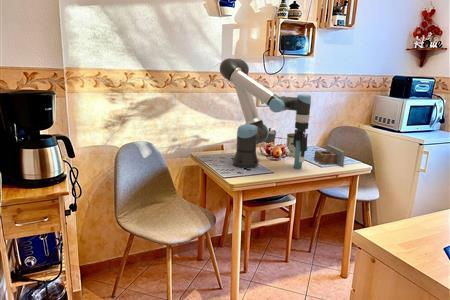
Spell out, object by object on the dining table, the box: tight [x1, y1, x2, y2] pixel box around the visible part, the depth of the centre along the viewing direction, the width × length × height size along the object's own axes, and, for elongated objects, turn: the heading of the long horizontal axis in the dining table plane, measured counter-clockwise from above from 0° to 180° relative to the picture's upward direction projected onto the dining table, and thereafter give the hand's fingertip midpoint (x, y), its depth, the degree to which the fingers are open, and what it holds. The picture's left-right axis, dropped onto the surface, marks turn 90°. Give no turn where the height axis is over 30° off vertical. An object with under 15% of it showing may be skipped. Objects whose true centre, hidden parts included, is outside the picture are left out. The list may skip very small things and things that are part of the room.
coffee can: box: [286, 132, 295, 158], centre depth 224 cm, size 10×10×14 cm
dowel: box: [293, 141, 303, 170], centre depth 195 cm, size 4×4×16 cm
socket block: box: [313, 150, 337, 165], centre depth 211 cm, size 10×10×6 cm
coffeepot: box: [262, 127, 277, 143], centre depth 224 cm, size 15×9×18 cm, turn 144°
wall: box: [325, 144, 346, 167], centre depth 212 cm, size 2×20×9 cm, turn 10°
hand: (298, 159), depth 196 cm, fingers open, 8 cm apart
